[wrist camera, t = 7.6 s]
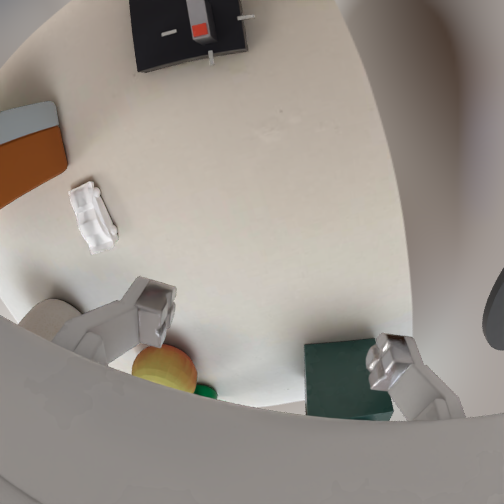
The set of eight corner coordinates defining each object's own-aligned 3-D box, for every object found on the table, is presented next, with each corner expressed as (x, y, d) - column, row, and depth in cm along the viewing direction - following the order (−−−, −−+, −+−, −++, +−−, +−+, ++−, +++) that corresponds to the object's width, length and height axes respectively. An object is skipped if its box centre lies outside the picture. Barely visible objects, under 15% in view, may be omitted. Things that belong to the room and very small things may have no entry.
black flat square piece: (246, -37, 18) (243, -45, 16) (261, 60, 23) (260, 58, 21) (136, -10, 19) (127, -15, 17) (147, 82, 25) (138, 82, 23)
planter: (93, 300, 39) (57, 353, 30) (106, 354, 45) (81, 403, 36) (34, 281, 39) (-4, 324, 30) (52, 334, 45) (24, 376, 36)
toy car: (96, 246, 34) (88, 256, 32) (70, 190, 31) (59, 197, 29) (124, 238, 33) (116, 247, 32) (97, 177, 30) (86, 183, 28)
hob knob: (195, 7, 19) (184, -3, 16) (211, 3, 19) (202, -7, 16) (202, 45, 21) (191, 39, 18) (217, 41, 21) (209, 35, 18)
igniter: (374, 337, 38) (396, 424, 26) (367, 372, 42) (381, 450, 30) (304, 344, 39) (307, 435, 27) (304, 378, 43) (306, 459, 31)
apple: (214, 370, 44) (205, 412, 37) (167, 379, 47) (155, 418, 40) (176, 327, 40) (159, 372, 33) (129, 342, 43) (110, 381, 36)
